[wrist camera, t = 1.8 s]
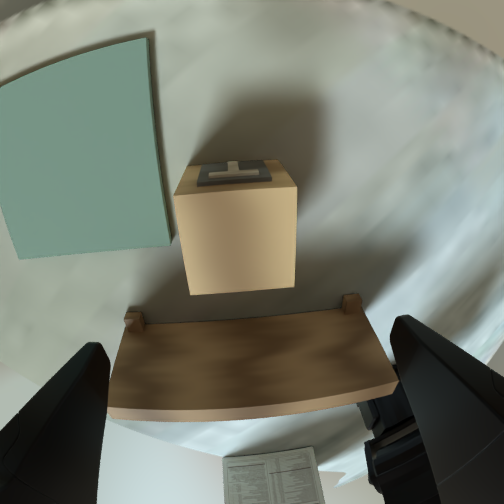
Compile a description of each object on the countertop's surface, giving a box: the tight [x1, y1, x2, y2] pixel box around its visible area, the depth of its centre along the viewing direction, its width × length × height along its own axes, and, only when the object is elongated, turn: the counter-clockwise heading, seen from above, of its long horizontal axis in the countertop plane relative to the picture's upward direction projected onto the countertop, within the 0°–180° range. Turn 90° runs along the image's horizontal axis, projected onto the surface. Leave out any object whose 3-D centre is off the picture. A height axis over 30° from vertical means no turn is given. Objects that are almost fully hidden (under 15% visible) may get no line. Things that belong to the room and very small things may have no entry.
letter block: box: [173, 160, 297, 295], centre depth 15 cm, size 5×5×5 cm
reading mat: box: [0, 38, 172, 260], centre depth 15 cm, size 12×12×1 cm
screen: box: [107, 293, 399, 422], centre depth 19 cm, size 18×4×8 cm, turn 92°
